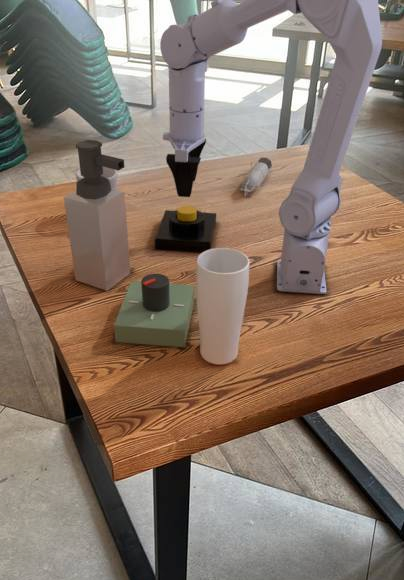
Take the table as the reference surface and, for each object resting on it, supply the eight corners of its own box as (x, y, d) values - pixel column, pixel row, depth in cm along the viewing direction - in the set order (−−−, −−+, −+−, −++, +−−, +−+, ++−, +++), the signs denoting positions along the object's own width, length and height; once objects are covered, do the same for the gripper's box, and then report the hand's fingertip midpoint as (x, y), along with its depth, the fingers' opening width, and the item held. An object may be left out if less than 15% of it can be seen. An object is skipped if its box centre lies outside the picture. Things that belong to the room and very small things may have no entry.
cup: (128, 222, 112) (126, 183, 107) (88, 228, 110) (84, 188, 105) (114, 200, 120) (111, 163, 115) (76, 206, 117) (71, 167, 112)
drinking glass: (240, 339, 83) (247, 246, 74) (245, 369, 78) (253, 274, 68) (194, 340, 83) (195, 247, 73) (195, 370, 78) (196, 274, 68)
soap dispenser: (118, 295, 92) (105, 158, 78) (75, 279, 95) (56, 146, 81) (141, 277, 96) (133, 144, 82) (100, 263, 99) (85, 133, 86)
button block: (210, 253, 103) (210, 232, 100) (155, 249, 104) (154, 229, 101) (216, 223, 112) (216, 204, 110) (165, 220, 113) (165, 201, 110)
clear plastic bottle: (255, 168, 135) (257, 140, 131) (275, 171, 134) (277, 143, 130) (233, 198, 122) (235, 167, 118) (255, 201, 121) (257, 170, 117)
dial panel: (184, 347, 81) (184, 329, 79) (115, 342, 82) (113, 324, 80) (194, 301, 91) (194, 284, 89) (132, 296, 91) (131, 279, 89)
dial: (158, 293, 87) (157, 268, 84) (175, 304, 84) (174, 279, 82) (137, 302, 85) (135, 277, 82) (153, 314, 82) (152, 289, 80)
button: (195, 223, 104) (195, 214, 103) (175, 222, 104) (175, 213, 103) (197, 214, 107) (197, 205, 106) (178, 213, 107) (178, 204, 106)
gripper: (169, 94, 99) (170, 171, 108) (155, 120, 88) (157, 203, 97) (209, 96, 99) (207, 173, 107) (200, 122, 88) (199, 206, 96)
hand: (186, 188), depth 102 cm, fingers open, 6 cm apart
